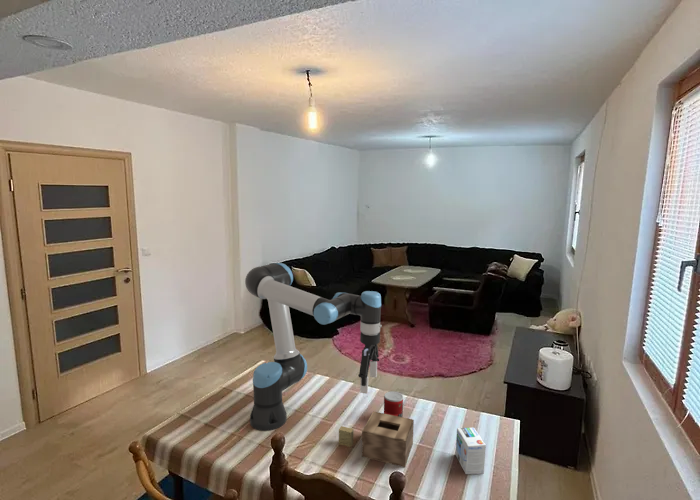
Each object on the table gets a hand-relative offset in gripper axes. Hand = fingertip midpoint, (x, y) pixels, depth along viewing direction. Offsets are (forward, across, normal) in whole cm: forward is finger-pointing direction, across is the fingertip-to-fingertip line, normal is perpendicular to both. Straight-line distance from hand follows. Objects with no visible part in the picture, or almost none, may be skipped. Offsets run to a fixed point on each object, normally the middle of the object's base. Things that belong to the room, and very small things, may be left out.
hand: (368, 384), depth 152 cm
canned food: (+22, +14, -8) cm, 26 cm away
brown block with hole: (+21, -7, -10) cm, 24 cm away
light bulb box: (+21, -5, -39) cm, 44 cm away
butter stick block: (+21, -8, +6) cm, 24 cm away
